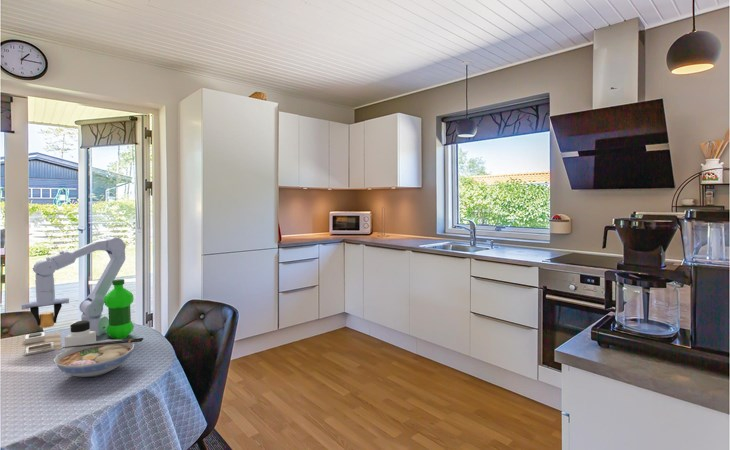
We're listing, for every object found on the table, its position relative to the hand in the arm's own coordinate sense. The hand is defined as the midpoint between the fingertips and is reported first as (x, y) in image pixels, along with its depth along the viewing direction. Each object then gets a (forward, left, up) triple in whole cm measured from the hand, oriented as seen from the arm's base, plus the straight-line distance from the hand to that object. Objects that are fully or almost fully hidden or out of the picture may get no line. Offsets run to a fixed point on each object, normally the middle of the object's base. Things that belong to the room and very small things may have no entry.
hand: (47, 323), depth 153 cm
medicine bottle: (-17, +3, -10) cm, 20 cm away
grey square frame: (-3, +7, -8) cm, 11 cm away
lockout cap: (0, 0, -1) cm, 1 cm away
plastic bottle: (-21, -13, -10) cm, 27 cm away
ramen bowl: (-37, +19, -10) cm, 43 cm away
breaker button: (+8, -2, -8) cm, 11 cm away
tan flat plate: (+1, +1, -9) cm, 10 cm away
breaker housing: (+8, -2, -8) cm, 11 cm away
